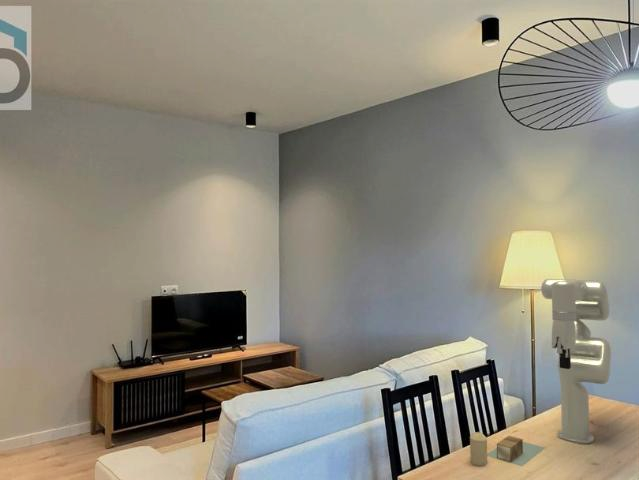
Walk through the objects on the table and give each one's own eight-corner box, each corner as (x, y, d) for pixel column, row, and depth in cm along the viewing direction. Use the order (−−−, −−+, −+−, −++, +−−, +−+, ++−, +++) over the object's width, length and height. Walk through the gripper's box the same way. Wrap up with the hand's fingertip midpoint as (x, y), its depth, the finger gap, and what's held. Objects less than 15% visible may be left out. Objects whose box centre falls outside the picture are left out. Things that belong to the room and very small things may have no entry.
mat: (510, 439, 188) (510, 438, 188) (545, 449, 179) (545, 447, 179) (485, 456, 173) (485, 455, 173) (522, 468, 164) (522, 466, 164)
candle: (488, 466, 165) (487, 437, 165) (471, 465, 166) (470, 435, 166) (486, 460, 170) (485, 431, 171) (469, 458, 172) (469, 430, 172)
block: (508, 435, 178) (496, 443, 171) (522, 439, 174) (510, 447, 167) (509, 449, 178) (496, 458, 170) (522, 453, 174) (511, 462, 167)
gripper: (561, 313, 181) (562, 362, 181) (544, 317, 171) (545, 370, 171) (583, 314, 176) (584, 366, 175) (566, 319, 166) (567, 373, 165)
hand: (565, 368), depth 173 cm, fingers closed
